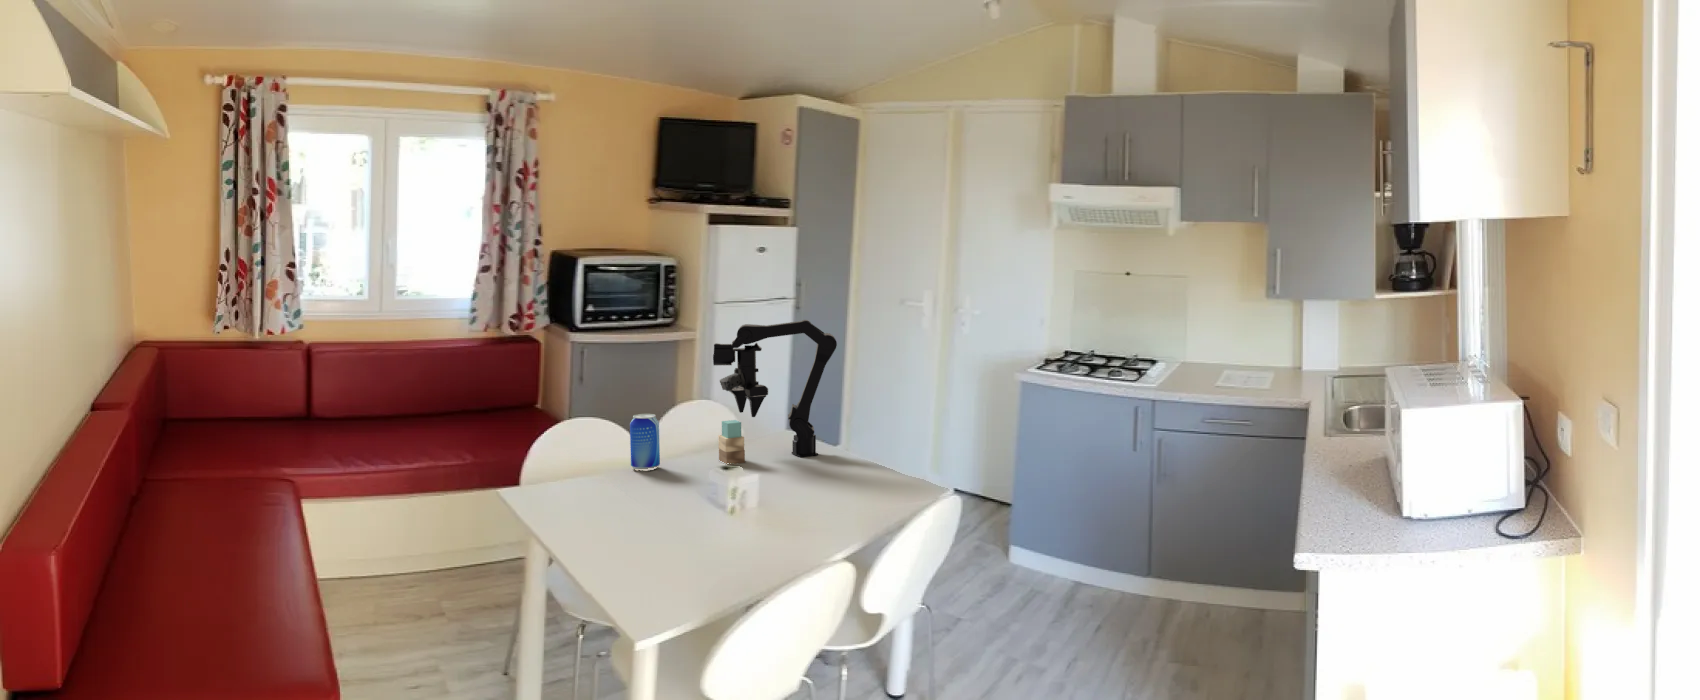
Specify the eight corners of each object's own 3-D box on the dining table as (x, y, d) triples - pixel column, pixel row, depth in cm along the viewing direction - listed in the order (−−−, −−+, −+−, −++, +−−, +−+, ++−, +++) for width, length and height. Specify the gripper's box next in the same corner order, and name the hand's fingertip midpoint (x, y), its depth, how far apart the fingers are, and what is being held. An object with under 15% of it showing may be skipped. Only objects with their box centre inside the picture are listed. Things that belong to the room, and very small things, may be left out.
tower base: (737, 458, 317) (736, 446, 317) (744, 462, 312) (744, 449, 312) (719, 461, 314) (718, 448, 314) (726, 465, 309) (726, 452, 309)
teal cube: (735, 434, 315) (735, 419, 315) (741, 436, 311) (741, 422, 311) (721, 435, 313) (721, 421, 312) (727, 438, 309) (727, 423, 309)
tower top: (736, 446, 317) (736, 433, 316) (744, 450, 311) (744, 437, 311) (718, 448, 314) (718, 435, 313) (725, 452, 309) (725, 439, 308)
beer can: (663, 466, 307) (662, 413, 305) (655, 472, 299) (654, 418, 297) (636, 465, 308) (634, 412, 306) (627, 471, 300) (625, 417, 298)
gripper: (710, 363, 323) (711, 412, 324) (735, 370, 307) (735, 422, 308) (743, 361, 328) (743, 409, 330) (768, 368, 312) (769, 418, 314)
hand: (747, 414), depth 320 cm, fingers open, 9 cm apart
